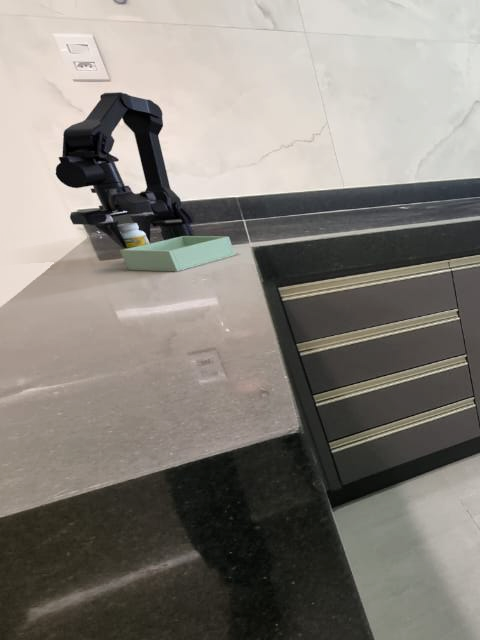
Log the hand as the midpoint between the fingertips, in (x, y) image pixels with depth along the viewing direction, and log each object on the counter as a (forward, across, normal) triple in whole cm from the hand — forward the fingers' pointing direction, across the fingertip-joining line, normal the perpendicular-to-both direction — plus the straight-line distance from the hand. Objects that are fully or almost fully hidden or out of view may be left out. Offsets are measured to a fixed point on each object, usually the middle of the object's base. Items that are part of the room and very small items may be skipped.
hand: (136, 245), depth 137 cm
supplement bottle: (+4, 0, 0) cm, 4 cm away
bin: (+4, 0, -14) cm, 15 cm away
